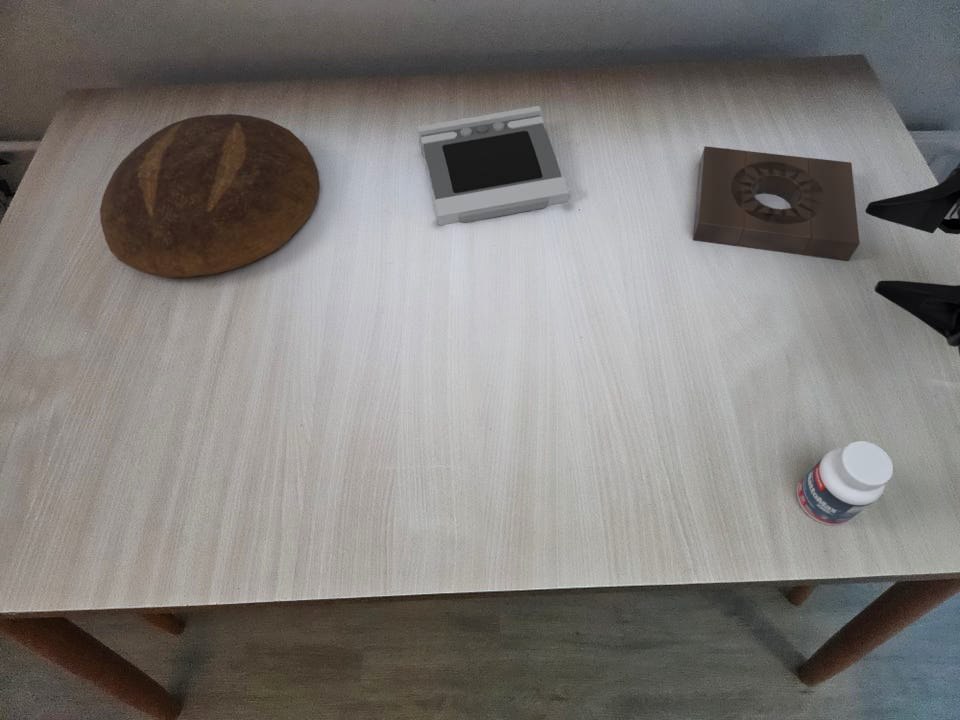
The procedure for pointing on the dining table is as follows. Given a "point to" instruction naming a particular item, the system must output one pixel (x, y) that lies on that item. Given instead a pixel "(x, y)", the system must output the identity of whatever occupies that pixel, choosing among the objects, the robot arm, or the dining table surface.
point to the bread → (208, 196)
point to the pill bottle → (844, 482)
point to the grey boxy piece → (491, 166)
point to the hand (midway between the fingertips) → (871, 245)
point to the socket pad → (748, 223)
